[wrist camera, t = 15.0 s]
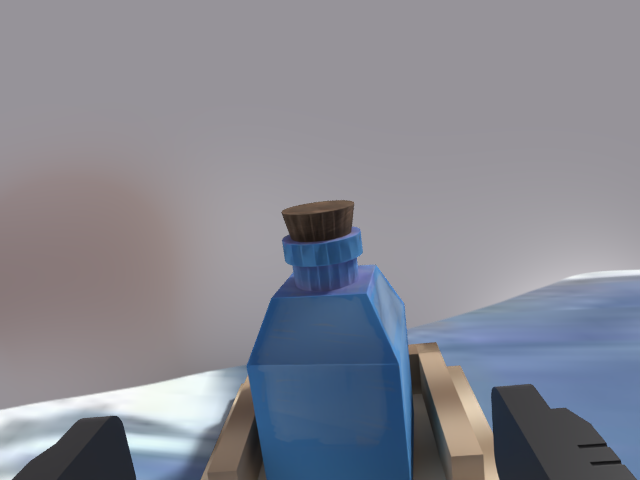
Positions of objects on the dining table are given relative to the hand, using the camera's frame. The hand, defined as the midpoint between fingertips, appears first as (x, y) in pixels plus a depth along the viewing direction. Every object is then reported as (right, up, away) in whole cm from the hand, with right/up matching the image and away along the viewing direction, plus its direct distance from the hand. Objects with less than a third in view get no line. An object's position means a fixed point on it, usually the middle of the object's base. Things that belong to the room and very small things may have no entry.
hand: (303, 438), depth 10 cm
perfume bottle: (+2, -6, +13) cm, 14 cm away
